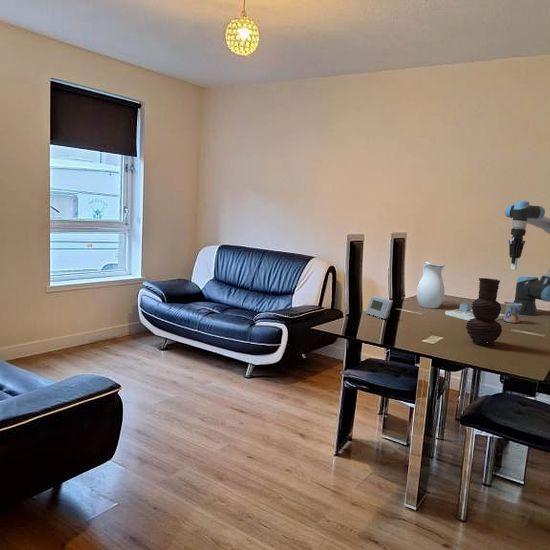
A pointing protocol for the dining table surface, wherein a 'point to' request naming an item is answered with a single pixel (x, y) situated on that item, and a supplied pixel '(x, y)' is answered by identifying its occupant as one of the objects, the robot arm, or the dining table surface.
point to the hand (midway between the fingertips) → (513, 269)
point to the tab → (465, 307)
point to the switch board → (466, 314)
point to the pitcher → (431, 286)
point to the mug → (512, 312)
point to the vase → (485, 314)
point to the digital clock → (379, 307)
